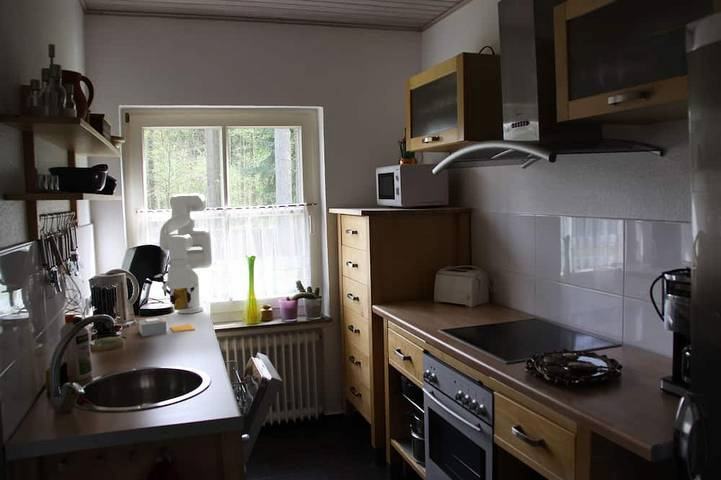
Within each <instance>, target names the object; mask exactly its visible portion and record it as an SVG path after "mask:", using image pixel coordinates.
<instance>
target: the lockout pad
mask: <svg viewBox="0 0 721 480" xmlns="http://www.w3.org/2000/svg"><path fill="white" fill-rule="evenodd" d="M169 329H170V330H171V331H172V332H173V333H182V332H183V333H184V332H190V331H196V328H195V327H194V326H193V325H192V324H190V323H187V324H181V325H180V324H179V325H171V326H169Z"/></svg>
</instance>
